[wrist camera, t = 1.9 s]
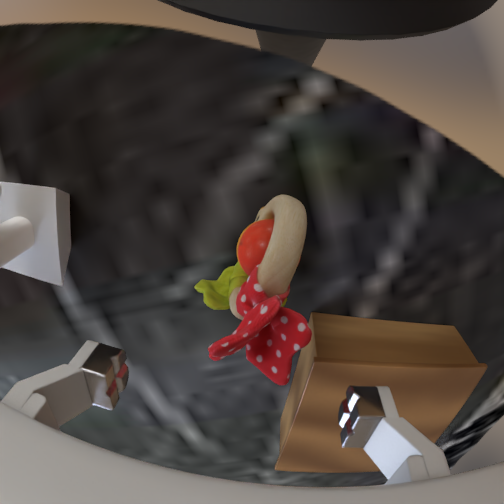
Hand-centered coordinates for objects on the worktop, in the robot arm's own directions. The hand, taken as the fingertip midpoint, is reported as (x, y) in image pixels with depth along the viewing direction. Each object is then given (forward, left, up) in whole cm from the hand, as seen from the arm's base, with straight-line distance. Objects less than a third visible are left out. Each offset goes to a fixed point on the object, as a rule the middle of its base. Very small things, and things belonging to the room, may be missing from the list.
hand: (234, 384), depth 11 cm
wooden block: (+11, +11, -12) cm, 20 cm away
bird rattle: (0, 0, -13) cm, 13 cm away
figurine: (0, -17, -13) cm, 21 cm away
